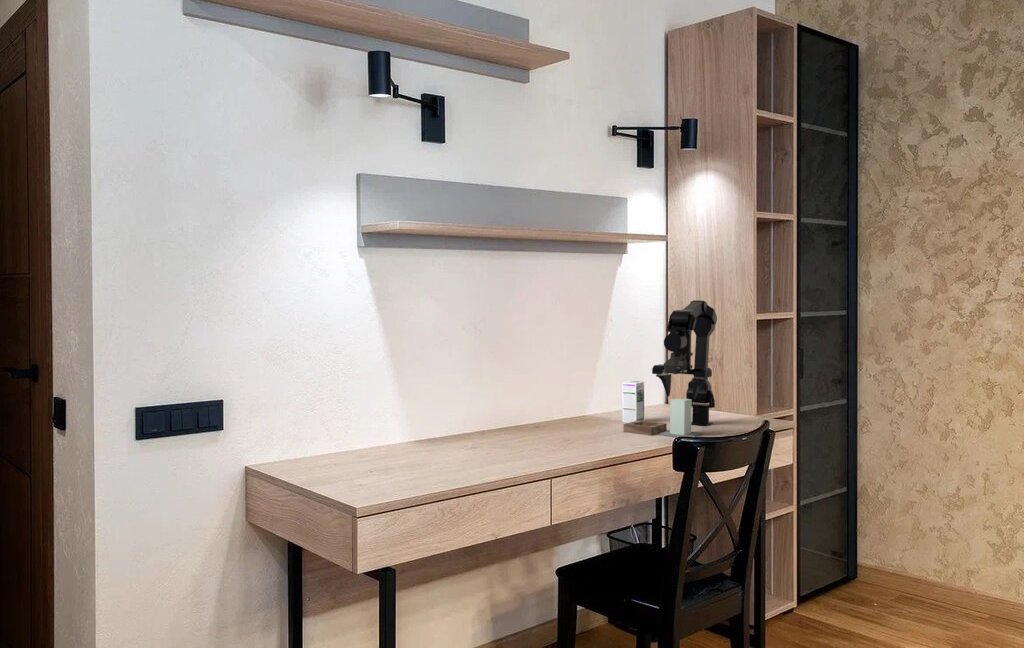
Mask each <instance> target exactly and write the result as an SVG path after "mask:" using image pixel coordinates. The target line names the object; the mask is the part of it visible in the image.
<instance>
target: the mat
mask: <svg viewBox="0 0 1024 648" xmlns="http://www.w3.org/2000/svg"><path fill="white" fill-rule="evenodd" d="M700 435H702V432H700V431H699V432H697V431H691V433H689V434H686V435H679V434H671V433H670V430H667V431H665V432H661V433H659V436H662V437H663V436H664V437H670V438H671V437H672V438H678V437H677V436H695V437H698V436H700Z"/></svg>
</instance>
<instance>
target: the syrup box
mask: <svg viewBox="0 0 1024 648" xmlns="http://www.w3.org/2000/svg"><path fill="white" fill-rule="evenodd" d="M621 383H622V384H621V385H622V391H621V392H622V394H621V395H622V404H621V405H622V417H621V418H622V423H623V424H626V423H630V422H634V421H638V420H641V421H645V382H644V381H640V380H628V381H623V382H621Z"/></svg>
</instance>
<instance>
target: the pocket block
mask: <svg viewBox="0 0 1024 648" xmlns="http://www.w3.org/2000/svg"><path fill="white" fill-rule="evenodd" d="M622 425H623V427H622V430H623V432H624V433H631V434H639V435H646V436H654V435H658V434H660V433H663V432H667V431H668V430H667V423H666V422H657V421H650V420H644V421H641V420H638V421H634V422H630V423H623V424H622Z"/></svg>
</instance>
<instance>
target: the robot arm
mask: <svg viewBox="0 0 1024 648" xmlns="http://www.w3.org/2000/svg"><path fill="white" fill-rule="evenodd" d="M717 321H718V316H717V313H716V311H715V309H714V308H713V307H711V306H710V305H709V304H708V302H707V301H705V300H700V299H699V300H695V299H694V300H692V301H690V303H689V304H687V306H686V307H684V308H682V309H676V310H673V311H672V312H671V314H670V315H669V319H668V323H667V328H666V332H667V333H669V334H667V335H666V336H665V338H664V339H663V347H664V348H665V349H666V350H667V351H668V352H670V358H668V359H667V360H666V361H665V362H663V364H656V365H655V364H654V365H653V367H652V368H651V374H652V375H653V374H654V375H655V377H657V378H659V380H660V381H661V383H662V385H663V388H664V391H665V394H666V396H667V397H670V396H671V385H672V374H673V375H690V376H691V375H692V376H693V377H692V378H691V380H690V381H688V384H687V385H688V386H687V390H686V392H685V395H686V398H685V399H692V409H691V425H695V426H703V427H704V426H709V425H712V424H713V423H714V422H713V421H710V409H712V408H716V400H715V397H714V393H713V390H712V384H711V383H710V381H709V379H708V378H712V377H713V371H712V369H711V368H710V367H708V366H709V351H710V350H709V349H710V337H711V335H712V334H713V332H714V331H715V330H716V325H717ZM692 332H693V333H694V334H695V349H694V354H693V352H692ZM693 355H694V363H693V364H694V365H693V364H692V363H691V362H692V357H693Z"/></svg>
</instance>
